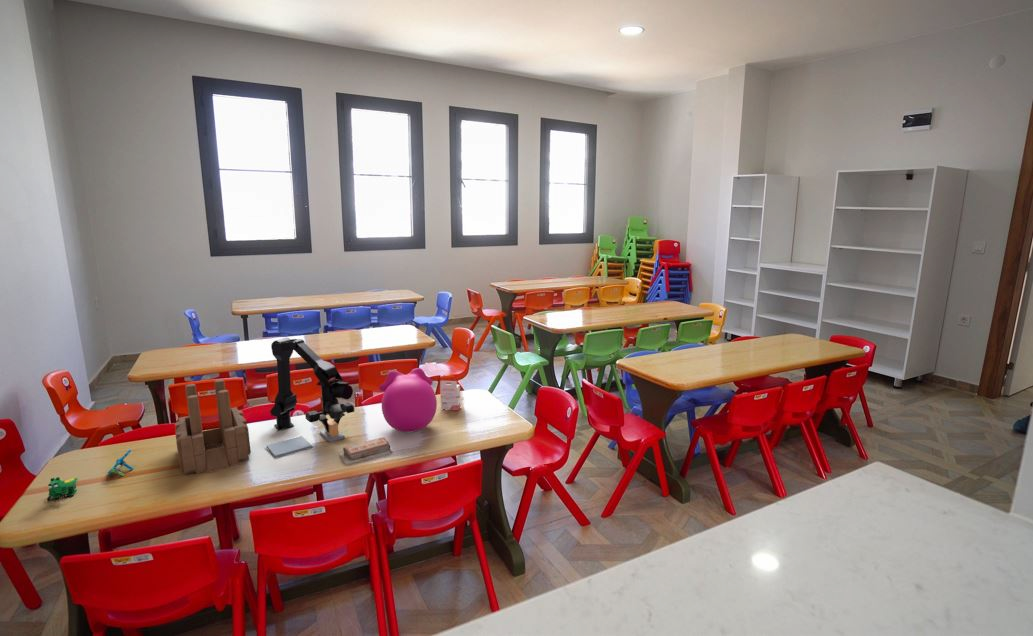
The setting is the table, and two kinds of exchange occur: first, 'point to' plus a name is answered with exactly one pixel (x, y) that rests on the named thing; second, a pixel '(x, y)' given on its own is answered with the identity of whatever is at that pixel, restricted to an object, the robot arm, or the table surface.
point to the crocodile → (61, 488)
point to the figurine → (408, 400)
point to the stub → (332, 432)
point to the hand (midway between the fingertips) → (331, 431)
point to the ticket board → (289, 446)
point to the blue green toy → (122, 463)
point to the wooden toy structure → (211, 435)
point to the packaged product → (365, 450)
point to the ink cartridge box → (450, 395)
